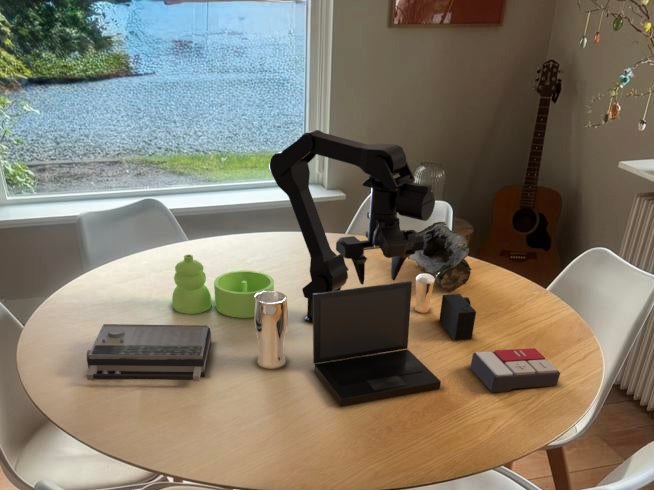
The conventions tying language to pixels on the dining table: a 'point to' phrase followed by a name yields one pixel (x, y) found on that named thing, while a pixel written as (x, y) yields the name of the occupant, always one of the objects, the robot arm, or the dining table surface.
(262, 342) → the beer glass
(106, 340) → the radio
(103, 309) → the dining table surface
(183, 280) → the green toy parts
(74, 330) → the dining table surface
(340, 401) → the dark flat rectangular base
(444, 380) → the dining table surface
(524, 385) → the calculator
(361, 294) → the netbook screen
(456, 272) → the hollow geode rock
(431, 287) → the shiny metal cylinder
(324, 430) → the dining table surface
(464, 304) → the digital camera
